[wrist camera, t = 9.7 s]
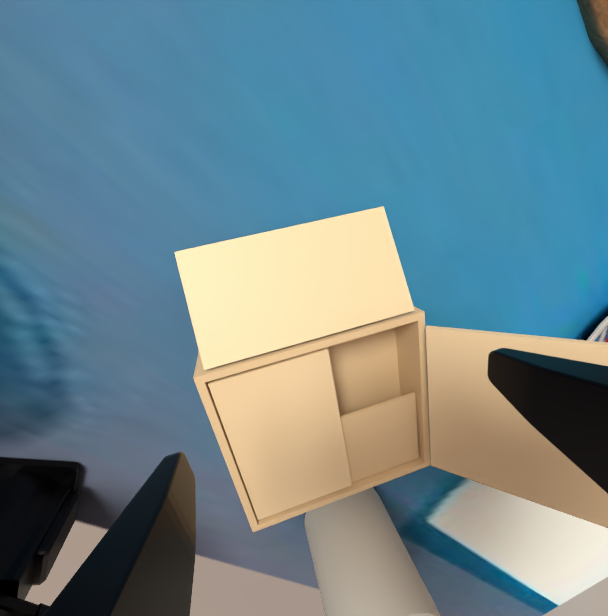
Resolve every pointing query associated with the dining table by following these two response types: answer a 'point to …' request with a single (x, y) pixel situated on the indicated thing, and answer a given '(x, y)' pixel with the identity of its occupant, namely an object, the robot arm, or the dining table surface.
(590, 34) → the trivet
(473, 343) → the flap
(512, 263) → the dining table surface
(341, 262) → the carton
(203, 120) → the dining table surface
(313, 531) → the can
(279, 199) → the dining table surface
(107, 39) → the dining table surface
